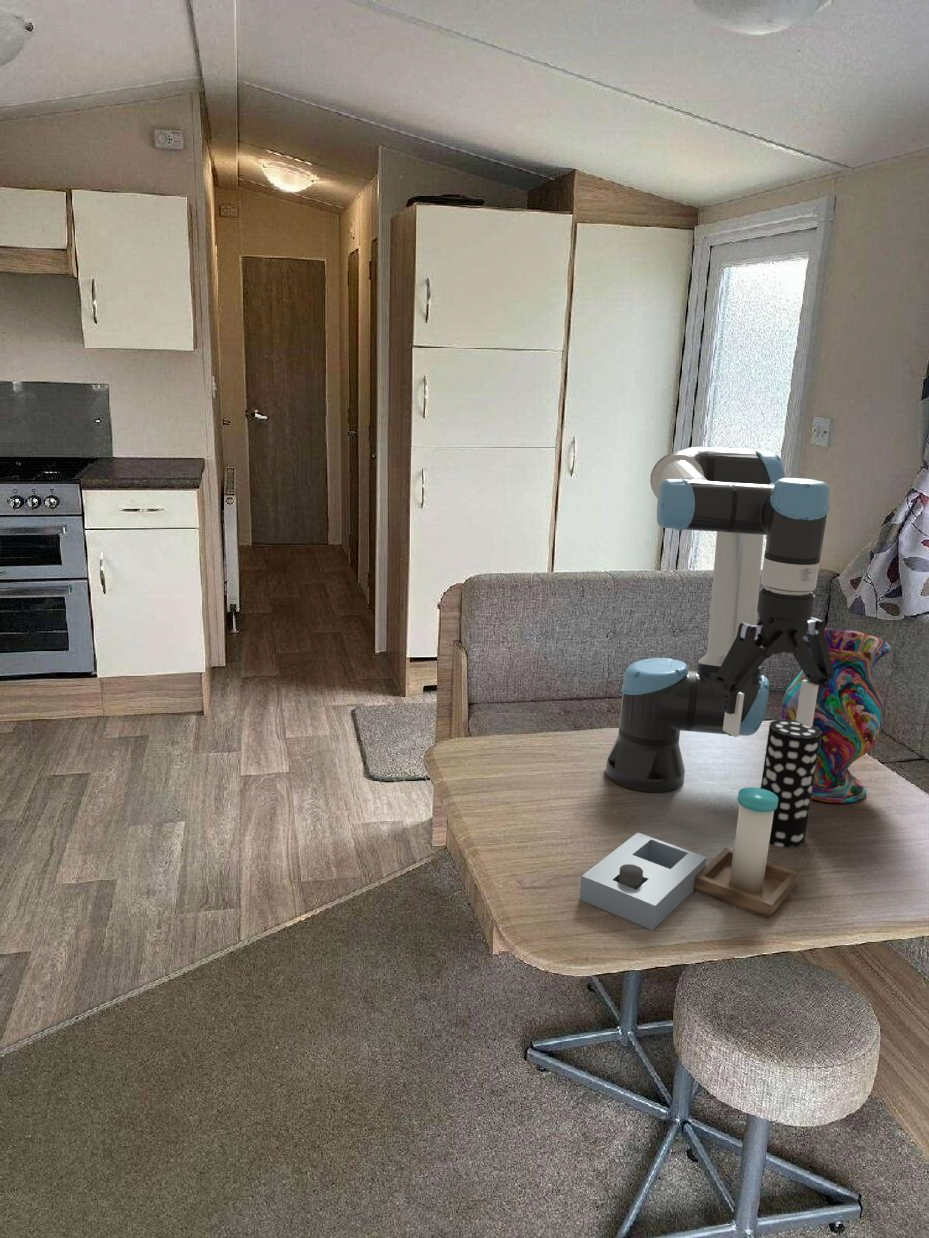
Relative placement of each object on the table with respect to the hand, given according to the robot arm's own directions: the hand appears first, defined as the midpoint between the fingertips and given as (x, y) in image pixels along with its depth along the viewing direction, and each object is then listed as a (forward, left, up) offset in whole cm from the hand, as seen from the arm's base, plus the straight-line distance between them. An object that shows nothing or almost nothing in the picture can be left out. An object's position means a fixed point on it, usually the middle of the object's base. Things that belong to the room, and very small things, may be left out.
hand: (767, 728), depth 139 cm
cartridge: (0, 0, -26) cm, 26 cm away
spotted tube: (-2, +21, -27) cm, 34 cm away
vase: (-3, +47, -27) cm, 54 cm away
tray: (0, 0, -27) cm, 27 cm away
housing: (-12, -11, -27) cm, 31 cm away
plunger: (-12, -16, -26) cm, 33 cm away
